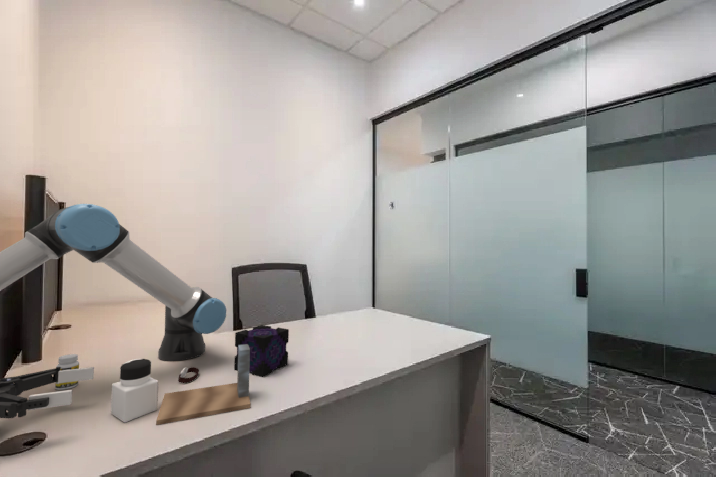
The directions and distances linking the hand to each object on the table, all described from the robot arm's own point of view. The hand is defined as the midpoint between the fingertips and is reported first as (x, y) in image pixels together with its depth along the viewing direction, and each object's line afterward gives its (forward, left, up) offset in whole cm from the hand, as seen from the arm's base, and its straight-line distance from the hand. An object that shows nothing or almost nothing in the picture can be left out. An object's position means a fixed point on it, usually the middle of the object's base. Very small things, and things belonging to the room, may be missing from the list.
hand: (83, 384), depth 73 cm
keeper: (+19, +17, -8) cm, 27 cm away
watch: (+3, +26, -9) cm, 28 cm away
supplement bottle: (-23, +9, -8) cm, 26 cm away
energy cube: (+17, +42, -8) cm, 46 cm away
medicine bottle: (+7, +7, -8) cm, 13 cm away
